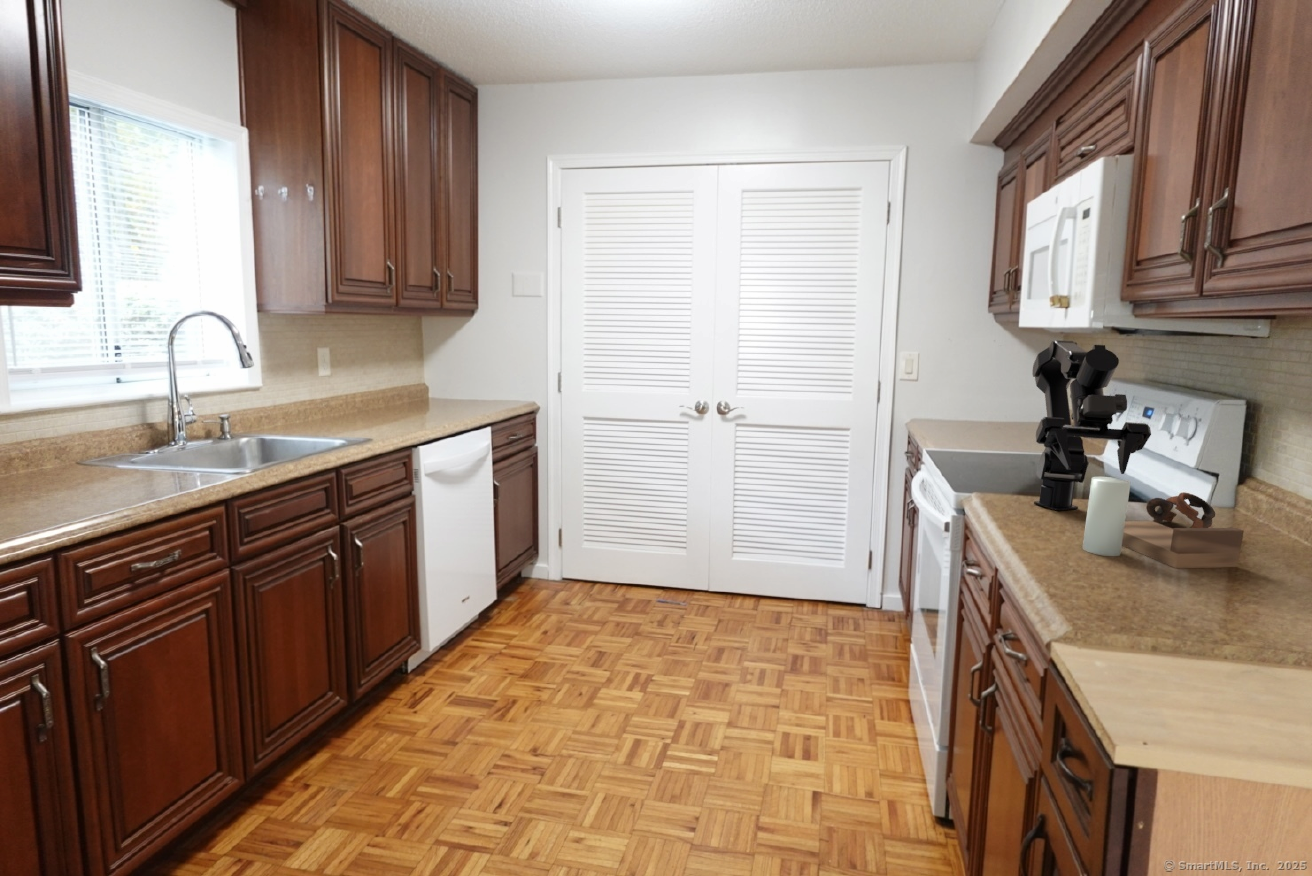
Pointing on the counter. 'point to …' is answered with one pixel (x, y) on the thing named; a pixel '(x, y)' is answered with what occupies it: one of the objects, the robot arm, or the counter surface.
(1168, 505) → the rusty ring shackle
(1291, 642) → the counter surface
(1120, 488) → the pale upright pillar block
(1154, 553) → the walnut shelf board
